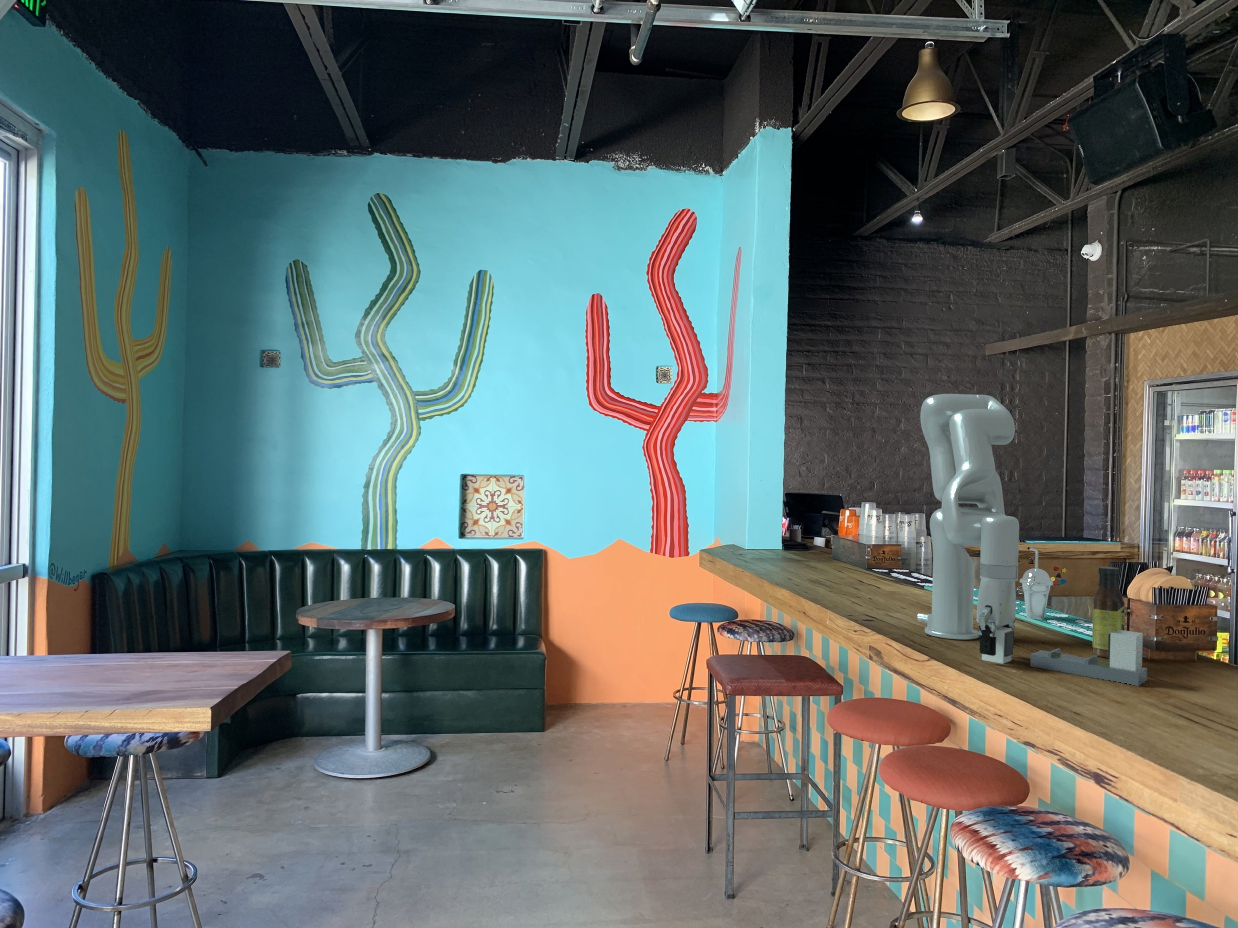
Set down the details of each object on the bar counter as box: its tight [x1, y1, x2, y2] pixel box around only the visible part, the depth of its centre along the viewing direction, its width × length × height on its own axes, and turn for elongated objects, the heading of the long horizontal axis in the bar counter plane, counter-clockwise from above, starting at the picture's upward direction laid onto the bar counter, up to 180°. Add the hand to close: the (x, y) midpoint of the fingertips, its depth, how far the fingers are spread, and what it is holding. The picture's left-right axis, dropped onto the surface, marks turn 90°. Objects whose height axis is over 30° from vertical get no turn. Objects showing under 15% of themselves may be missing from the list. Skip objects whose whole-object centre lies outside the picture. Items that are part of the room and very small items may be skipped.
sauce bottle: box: [1092, 566, 1126, 659], centre depth 188 cm, size 7×6×20 cm
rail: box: [1029, 630, 1148, 687], centre depth 172 cm, size 20×6×10 cm, turn 44°
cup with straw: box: [1018, 547, 1054, 621], centre depth 232 cm, size 8×9×20 cm
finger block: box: [981, 627, 1015, 665], centre depth 182 cm, size 5×4×7 cm
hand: (996, 651), depth 182 cm, fingers open, 9 cm apart
